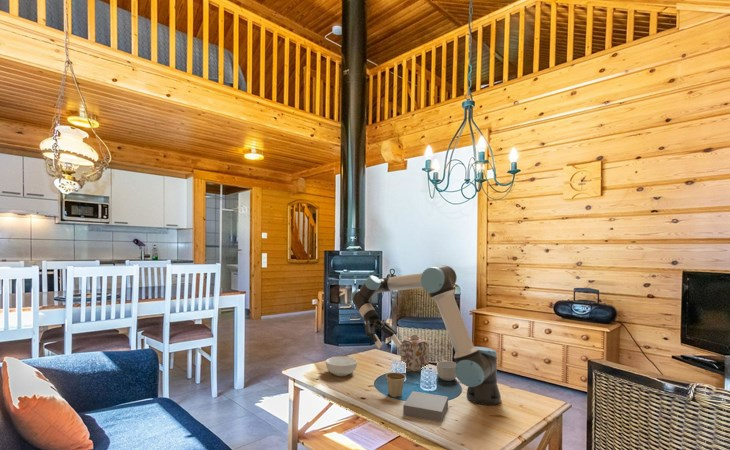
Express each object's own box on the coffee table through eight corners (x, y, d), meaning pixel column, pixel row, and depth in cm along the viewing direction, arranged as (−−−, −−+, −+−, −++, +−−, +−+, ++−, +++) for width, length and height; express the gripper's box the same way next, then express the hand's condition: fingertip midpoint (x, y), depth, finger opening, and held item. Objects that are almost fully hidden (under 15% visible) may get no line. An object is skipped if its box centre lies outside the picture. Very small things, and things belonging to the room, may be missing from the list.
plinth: (447, 406, 168) (448, 396, 168) (441, 421, 153) (441, 411, 153) (412, 400, 174) (412, 391, 174) (403, 414, 159) (403, 405, 159)
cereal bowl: (363, 374, 206) (363, 361, 206) (339, 381, 195) (339, 367, 195) (343, 366, 218) (343, 354, 219) (319, 373, 207) (319, 359, 207)
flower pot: (404, 390, 185) (404, 372, 185) (406, 398, 175) (407, 379, 176) (384, 390, 184) (384, 372, 185) (386, 398, 175) (386, 379, 175)
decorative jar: (400, 366, 221) (400, 334, 221) (414, 362, 228) (415, 332, 228) (414, 372, 211) (415, 339, 212) (429, 368, 218) (429, 336, 219)
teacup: (457, 383, 195) (458, 367, 195) (436, 381, 197) (436, 366, 197) (456, 374, 209) (457, 359, 209) (436, 372, 211) (436, 358, 211)
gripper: (382, 319, 208) (403, 350, 194) (347, 319, 191) (367, 352, 177) (389, 309, 205) (411, 340, 191) (355, 308, 189) (376, 341, 174)
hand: (390, 346), depth 184 cm, fingers open, 13 cm apart
